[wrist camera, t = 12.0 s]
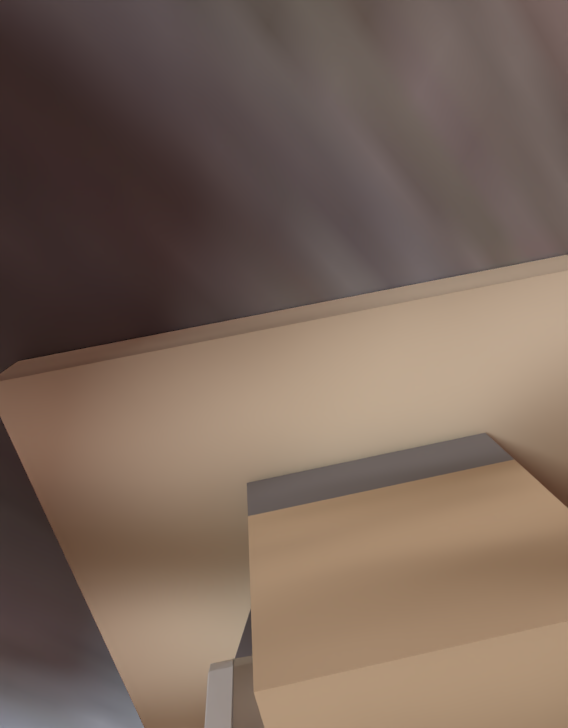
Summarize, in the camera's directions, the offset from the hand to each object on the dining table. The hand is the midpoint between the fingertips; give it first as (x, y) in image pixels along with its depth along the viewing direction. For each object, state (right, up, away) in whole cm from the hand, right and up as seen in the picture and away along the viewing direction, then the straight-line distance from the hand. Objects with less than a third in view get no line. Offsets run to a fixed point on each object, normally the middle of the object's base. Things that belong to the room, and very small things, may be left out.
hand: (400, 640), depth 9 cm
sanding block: (0, 0, +1) cm, 1 cm away
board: (0, -3, +4) cm, 5 cm away
